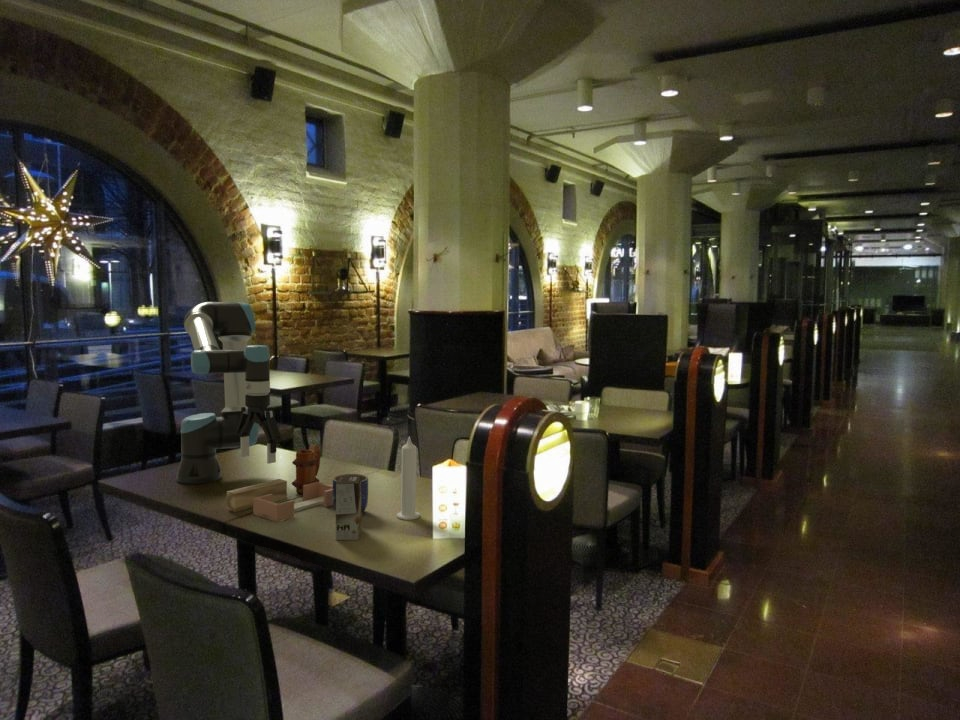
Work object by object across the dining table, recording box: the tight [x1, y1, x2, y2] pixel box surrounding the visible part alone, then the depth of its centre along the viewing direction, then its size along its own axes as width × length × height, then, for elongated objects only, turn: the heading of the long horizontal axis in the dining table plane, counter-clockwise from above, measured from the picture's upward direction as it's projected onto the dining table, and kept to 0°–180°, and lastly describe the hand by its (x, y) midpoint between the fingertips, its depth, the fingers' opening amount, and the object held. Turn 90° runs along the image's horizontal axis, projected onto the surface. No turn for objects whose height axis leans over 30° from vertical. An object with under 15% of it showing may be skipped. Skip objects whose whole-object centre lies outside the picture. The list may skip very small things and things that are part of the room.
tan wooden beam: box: [226, 478, 288, 513], centre depth 224 cm, size 4×20×6 cm, turn 144°
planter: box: [332, 473, 369, 515], centre depth 216 cm, size 11×11×11 cm
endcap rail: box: [252, 481, 334, 523], centre depth 220 cm, size 11×25×5 cm, turn 144°
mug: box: [291, 444, 321, 494], centre depth 241 cm, size 15×8×15 cm, turn 168°
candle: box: [396, 436, 421, 521], centre depth 213 cm, size 7×7×25 cm
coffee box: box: [335, 475, 362, 541], centre depth 196 cm, size 9×6×16 cm
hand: (258, 459), depth 223 cm, fingers open, 13 cm apart
